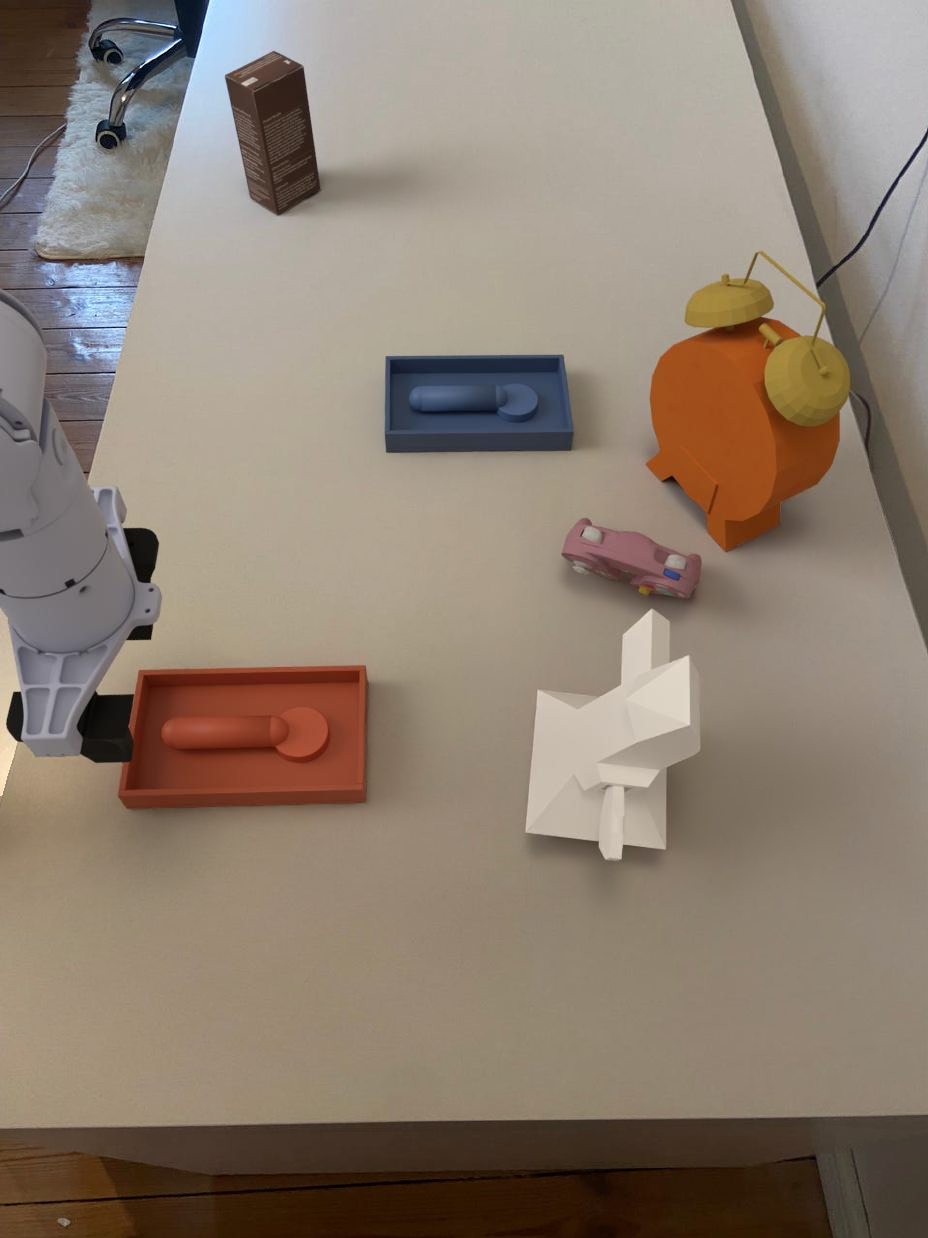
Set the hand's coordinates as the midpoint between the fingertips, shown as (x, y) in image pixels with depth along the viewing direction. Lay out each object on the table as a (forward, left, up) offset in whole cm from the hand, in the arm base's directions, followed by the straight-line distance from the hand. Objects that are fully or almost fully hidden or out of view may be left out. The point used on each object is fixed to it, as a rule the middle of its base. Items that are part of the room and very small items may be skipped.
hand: (124, 693), depth 54 cm
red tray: (+5, +3, -9) cm, 11 cm away
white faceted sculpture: (+27, +6, -10) cm, 29 cm away
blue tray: (+11, +36, -9) cm, 39 cm away
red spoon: (+5, +3, -9) cm, 11 cm away
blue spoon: (+11, +36, -9) cm, 39 cm away
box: (-15, +59, -10) cm, 62 cm away
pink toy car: (+26, +23, -10) cm, 36 cm away
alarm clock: (+31, +33, -10) cm, 46 cm away
